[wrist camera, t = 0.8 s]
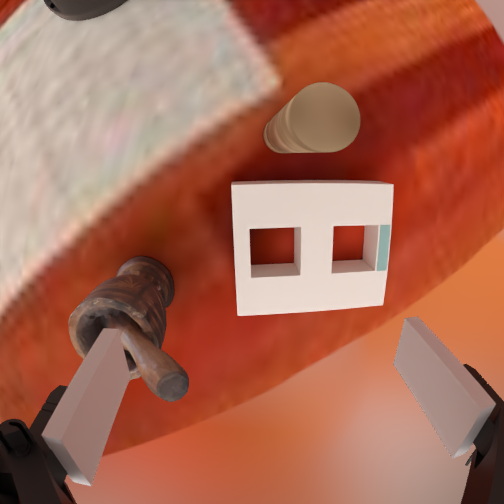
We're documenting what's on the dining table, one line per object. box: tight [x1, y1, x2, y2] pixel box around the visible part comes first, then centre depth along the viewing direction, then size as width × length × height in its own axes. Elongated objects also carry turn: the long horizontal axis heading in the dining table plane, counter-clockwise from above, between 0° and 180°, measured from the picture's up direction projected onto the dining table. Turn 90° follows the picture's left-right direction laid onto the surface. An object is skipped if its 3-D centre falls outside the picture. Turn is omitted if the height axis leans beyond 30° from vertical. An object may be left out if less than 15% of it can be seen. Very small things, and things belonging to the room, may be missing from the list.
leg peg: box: [263, 82, 360, 153], centre depth 25 cm, size 4×4×18 cm
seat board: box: [231, 180, 394, 316], centre depth 35 cm, size 14×17×4 cm
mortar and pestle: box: [69, 256, 189, 402], centre depth 28 cm, size 12×9×20 cm
